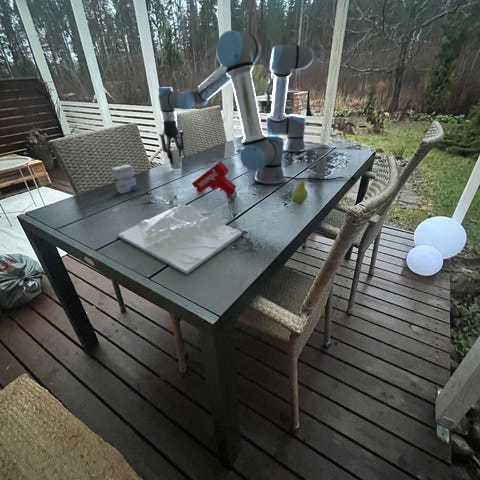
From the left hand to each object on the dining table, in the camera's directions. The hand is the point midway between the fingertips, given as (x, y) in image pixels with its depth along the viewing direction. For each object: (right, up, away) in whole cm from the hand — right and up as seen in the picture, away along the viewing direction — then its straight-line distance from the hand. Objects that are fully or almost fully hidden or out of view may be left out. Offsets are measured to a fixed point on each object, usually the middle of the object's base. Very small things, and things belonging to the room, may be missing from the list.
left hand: (175, 163), depth 158 cm
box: (0, -3, +2) cm, 3 cm away
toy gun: (+25, -22, -27) cm, 44 cm away
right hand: (+65, +60, +51) cm, 102 cm away
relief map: (+16, -44, -61) cm, 76 cm away
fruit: (+64, -28, -37) cm, 79 cm away
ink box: (-18, -21, -24) cm, 37 cm away
